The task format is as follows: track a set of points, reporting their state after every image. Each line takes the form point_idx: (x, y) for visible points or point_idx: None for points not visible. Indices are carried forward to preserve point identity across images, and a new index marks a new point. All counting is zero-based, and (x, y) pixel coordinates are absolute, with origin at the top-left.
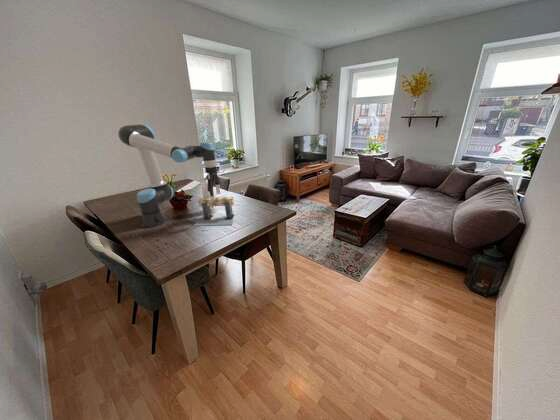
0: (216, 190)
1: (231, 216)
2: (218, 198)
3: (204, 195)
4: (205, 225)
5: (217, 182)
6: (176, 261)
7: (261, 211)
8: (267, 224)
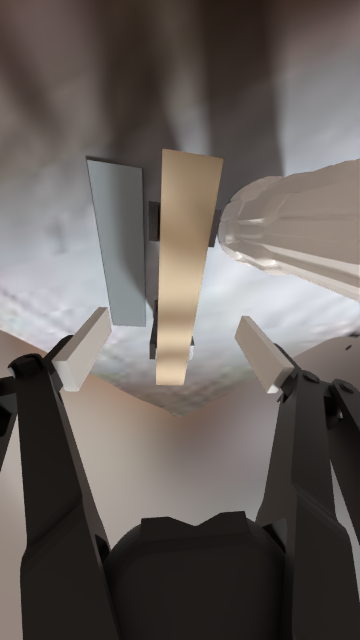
0: (252, 332)
1: None
2: (171, 329)
3: (296, 195)
4: (99, 232)
5: (279, 419)
6: None
7: (196, 377)
8: (123, 389)
